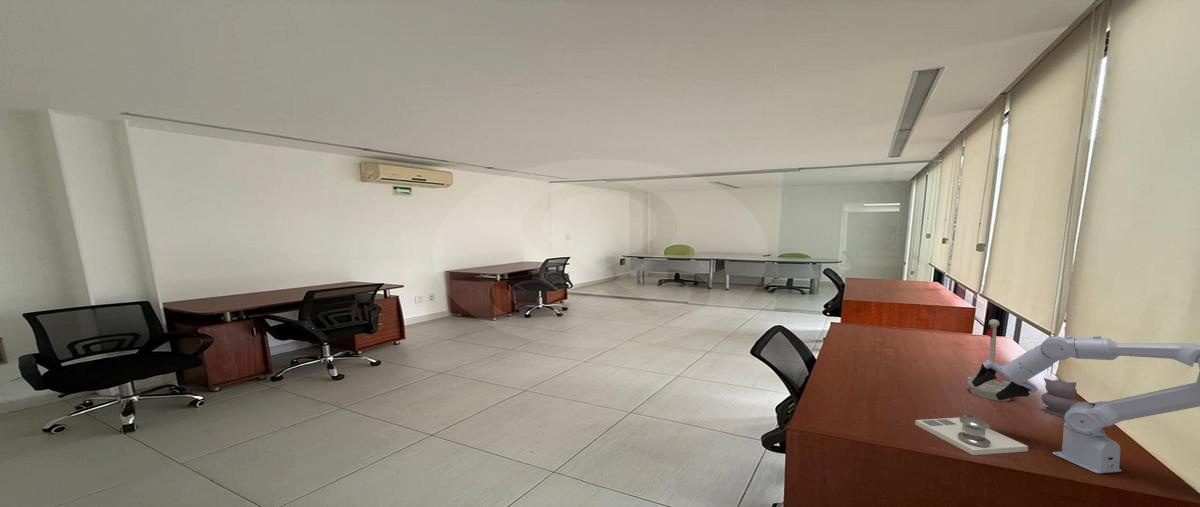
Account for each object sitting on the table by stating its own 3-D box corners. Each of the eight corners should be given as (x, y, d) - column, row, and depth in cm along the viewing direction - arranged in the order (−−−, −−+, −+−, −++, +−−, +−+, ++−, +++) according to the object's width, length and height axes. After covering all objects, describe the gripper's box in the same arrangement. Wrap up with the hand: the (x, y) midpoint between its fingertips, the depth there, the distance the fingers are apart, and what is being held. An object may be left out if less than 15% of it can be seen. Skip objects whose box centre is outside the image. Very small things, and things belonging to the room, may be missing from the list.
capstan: (992, 449, 111) (993, 431, 111) (959, 441, 115) (959, 424, 115) (983, 426, 124) (984, 410, 124) (953, 420, 128) (954, 404, 128)
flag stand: (978, 386, 161) (982, 314, 160) (1021, 399, 149) (1026, 321, 148) (959, 391, 157) (963, 317, 155) (1002, 404, 144) (1007, 324, 143)
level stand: (1027, 451, 113) (1028, 445, 113) (973, 455, 111) (973, 449, 111) (963, 421, 131) (963, 416, 131) (915, 424, 129) (915, 419, 129)
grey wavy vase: (1044, 415, 136) (1046, 381, 135) (1037, 407, 142) (1039, 374, 142) (1082, 422, 131) (1084, 387, 130) (1072, 413, 137) (1075, 379, 137)
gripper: (1044, 370, 119) (1002, 394, 127) (996, 344, 121) (958, 370, 129) (1057, 386, 113) (1012, 411, 121) (1007, 359, 115) (966, 385, 123)
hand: (985, 391), depth 124 cm, fingers open, 7 cm apart
